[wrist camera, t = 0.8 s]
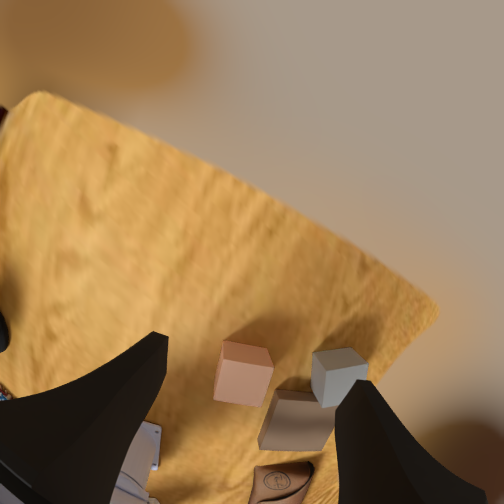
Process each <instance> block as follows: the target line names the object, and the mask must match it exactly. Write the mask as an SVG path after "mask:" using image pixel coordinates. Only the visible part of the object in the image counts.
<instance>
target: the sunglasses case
mask: <svg viewBox="0 0 504 504" xmlns="http://www.w3.org/2000/svg"><path fill="white" fill-rule="evenodd" d="M314 471H315V468H314V466H313V464H312V463H310V462H309V461H308V462H299V463H290V464H277V465H265V466H255V468H254V481H253V487H252V491H251V495H250V499H249V502H248V504H301V502H302V500H303V499H304V496H305V494H306V492H307V490H308V488H309V485H310V483H311V480H312V477H313V475H314Z"/></svg>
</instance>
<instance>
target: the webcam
mask: <svg viewBox="0 0 504 504" xmlns="http://www.w3.org/2000/svg"><path fill="white" fill-rule="evenodd" d="M7 346H8V329H7V326H6V324H5V321H4V318H3V316H2V314H1V312H0V353H1V352H3V351H5V350H6V348H7Z"/></svg>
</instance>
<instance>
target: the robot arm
mask: <svg viewBox="0 0 504 504" xmlns="http://www.w3.org/2000/svg"><path fill="white" fill-rule="evenodd" d="M168 338H169V336H166V335H163V334H160V333H157V332H154V331H153V332H151V333H149V334H148V335H147V336H145V337H144V338H143V339H141V340H140V341H139V342H137V343H136V344H134V345H133V346H132V347H130V348H129V349H127V350H126V351H125V352H123V353H121V354H120V355H118V356H117V357H115V358H114V359H112V360H111V361H109V362H108V363H106V364H104V365H102V366H101V367H99V368H97V369H96V370H94V371H92V372H90V373H88V374H86V375H84V376H82V377H80V378H78V379H76V380H74V381H72V382H69V383H67V384H65V385H62V386H59V387H57V388H54V389H51V390H48V391H45V392H42V393H38V394H34V395H30V396H26V397H21V398H16V399H10V400H1V401H0V504H154V503H152V502H150V501H148V497H149V493H148V492H146V491H145V488H146V485H147V481H148V477H149V473H150V469H152V470H157V469H158V462H159V451H160V441H161V431H162V428H161V427H160V426H159V425H156V424H152V423H148V422H145V421H143V420H144V419H145V417H146V415H147V413H148V411H149V410H150V408H151V406H152V404H153V402H154V401H155V399H156V397H157V395H158V393H159V390H160V388H161V386H162V383H163V380H164V378H165V375H166V371H167V353H168ZM157 431H158V432H157ZM335 442H336V451H337V461H338V471H339V500H338V504H488V501H487V498H486V495H485V491H484V490H482V489H480V488H478V487H476V486H474V485H472V484H470V483H468V482H466V481H464V480H462V479H461V478H459V477H458V476H456V475H455V474H453V473H452V472H450V471H449V470H447V469H446V468H445V467H444V466H442V465H441V464H440V463H439V462H438V461H437V460H435V459H434V458H433V457H432V456H431V455H430V454H429V453H428V452H427V451H426V450H425V449H424V448H423V447H422V446H421V445H420V444H419V443H418V442H417V441H416V440H415V438H414V437H413V436H412V435H411V434H410V432H409V431H408V430H407V429H406V428H405V426H404V425H403V424H402V423H401V421H400V420H399V419H398V417H397V416H396V415H395V413H394V412H393V411H392V409H391V408H390V406H389V405H388V404H387V402H386V401H385V400H384V398H383V397H382V395H381V394H380V393H379V391H378V390H377V389H376V387H375V386H374V385H373V384H372V382H371V381H368V380H360V379H357V380H356V381H355V383H354V384H353V386H352V387H351V389H350V390H349V392H348V393H347V395H346V396H345V397H344V399H343V400H342V402H341V403H340V404H339V406H338V407H337V409H336V410H335Z"/></svg>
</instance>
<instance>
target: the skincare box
mask: <svg viewBox="0 0 504 504" xmlns="http://www.w3.org/2000/svg"><path fill="white" fill-rule="evenodd" d="M148 501H150V502H152V503H154V504H160V503H159V502H158V500H157V499H156V498H150V497H148Z"/></svg>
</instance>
